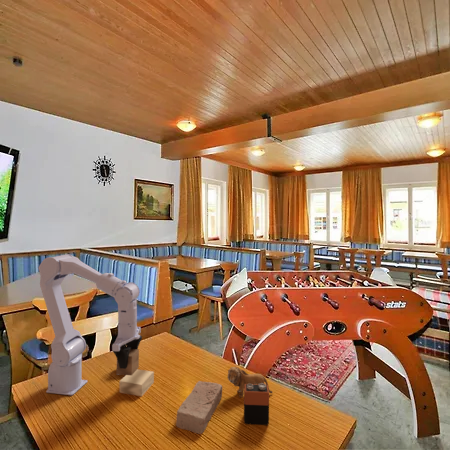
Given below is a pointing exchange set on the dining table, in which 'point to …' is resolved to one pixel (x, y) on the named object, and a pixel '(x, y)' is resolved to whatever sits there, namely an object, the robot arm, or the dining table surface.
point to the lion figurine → (244, 379)
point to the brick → (199, 407)
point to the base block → (137, 382)
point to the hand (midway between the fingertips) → (127, 363)
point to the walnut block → (130, 363)
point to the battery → (256, 404)
